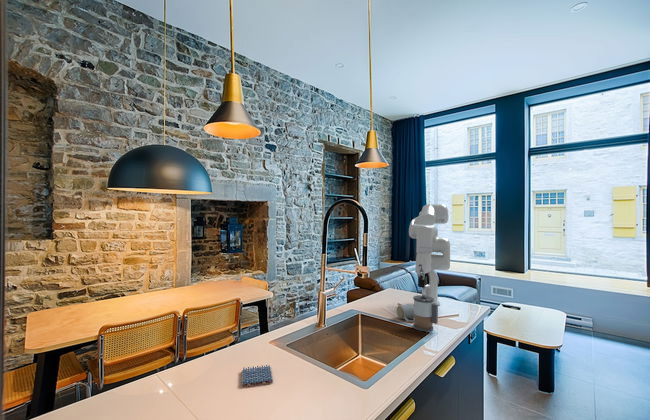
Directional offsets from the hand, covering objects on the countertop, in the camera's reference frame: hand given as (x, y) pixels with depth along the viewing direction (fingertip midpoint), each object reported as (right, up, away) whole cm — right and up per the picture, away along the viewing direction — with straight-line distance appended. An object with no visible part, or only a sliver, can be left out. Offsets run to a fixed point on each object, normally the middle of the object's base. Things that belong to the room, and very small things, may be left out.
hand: (423, 285), depth 147 cm
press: (0, -21, 0) cm, 21 cm away
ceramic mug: (-5, -22, +12) cm, 25 cm away
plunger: (0, -8, 0) cm, 8 cm away
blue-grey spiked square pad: (-73, -20, -47) cm, 89 cm away
